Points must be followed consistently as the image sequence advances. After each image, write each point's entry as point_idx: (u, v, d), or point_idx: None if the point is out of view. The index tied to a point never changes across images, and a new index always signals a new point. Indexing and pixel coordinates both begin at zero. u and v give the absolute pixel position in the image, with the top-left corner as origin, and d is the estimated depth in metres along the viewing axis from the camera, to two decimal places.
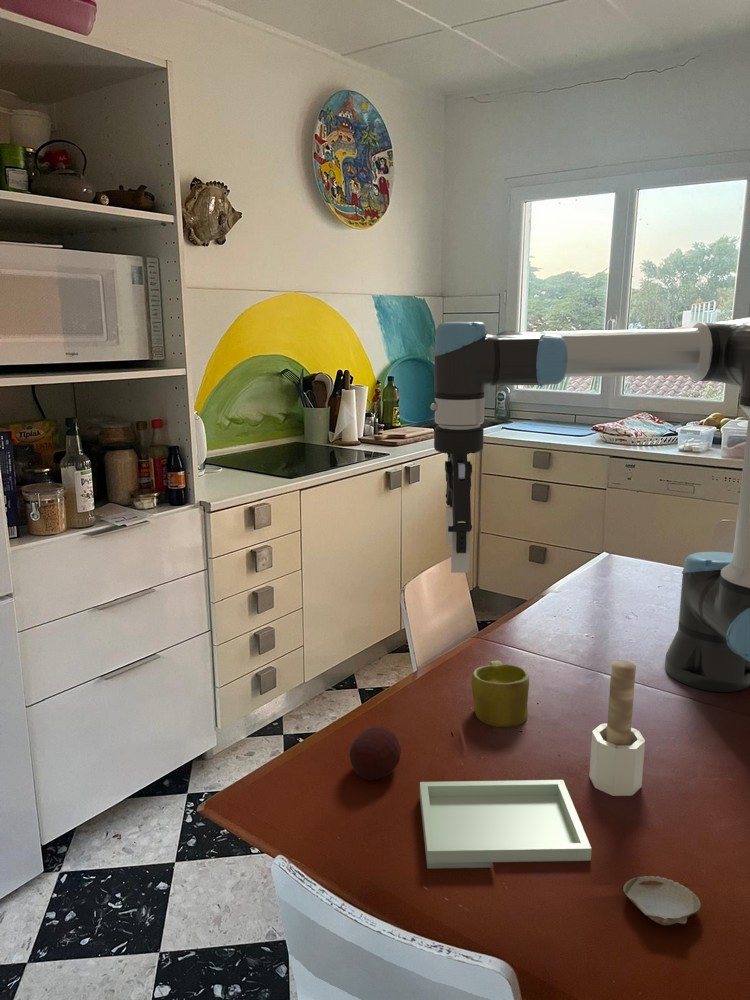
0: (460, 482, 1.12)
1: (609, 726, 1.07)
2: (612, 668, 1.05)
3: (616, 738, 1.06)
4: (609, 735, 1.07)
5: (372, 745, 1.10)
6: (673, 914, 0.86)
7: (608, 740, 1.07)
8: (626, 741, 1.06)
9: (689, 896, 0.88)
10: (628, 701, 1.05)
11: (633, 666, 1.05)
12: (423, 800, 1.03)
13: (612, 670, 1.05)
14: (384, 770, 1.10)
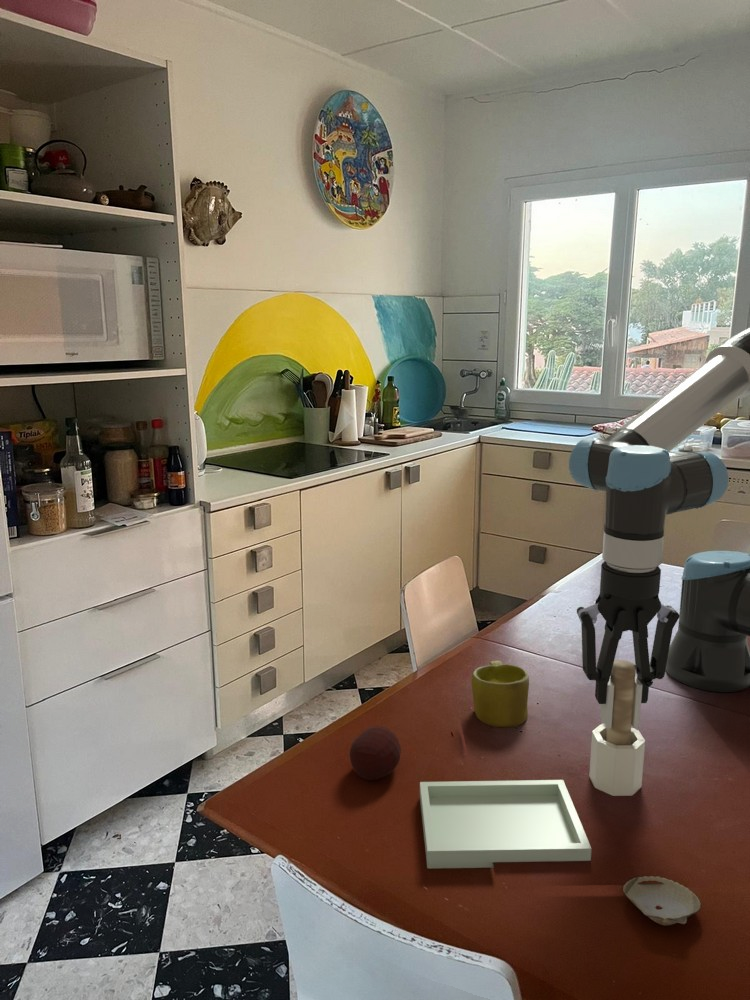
0: (583, 628, 1.04)
1: None
2: (612, 668, 1.05)
3: (616, 738, 1.06)
4: (609, 735, 1.07)
5: (372, 745, 1.10)
6: (673, 914, 0.86)
7: (608, 740, 1.07)
8: (626, 741, 1.06)
9: (689, 896, 0.88)
10: (628, 701, 1.05)
11: (633, 666, 1.05)
12: (423, 800, 1.03)
13: (612, 670, 1.05)
14: (384, 770, 1.10)
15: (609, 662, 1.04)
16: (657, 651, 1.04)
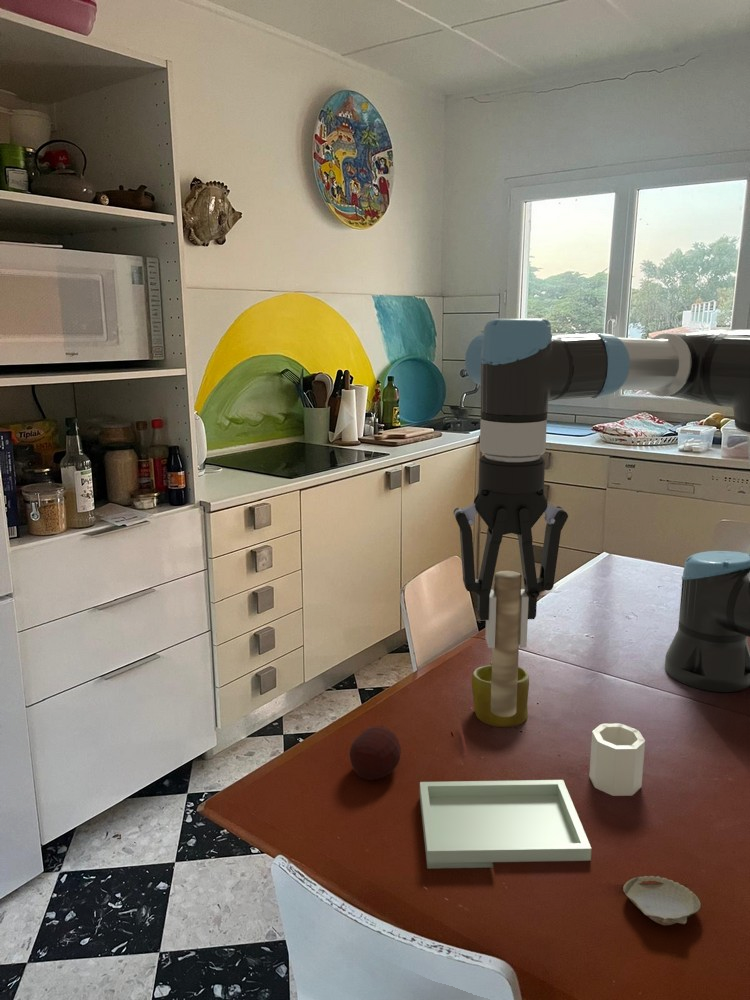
0: (460, 532, 0.91)
1: None
2: (495, 578, 0.92)
3: (501, 659, 0.93)
4: (493, 656, 0.94)
5: (372, 745, 1.10)
6: (673, 914, 0.86)
7: (493, 662, 0.94)
8: (512, 662, 0.93)
9: (689, 896, 0.88)
10: (513, 616, 0.92)
11: (518, 576, 0.92)
12: (423, 800, 1.03)
13: (495, 580, 0.92)
14: (384, 770, 1.10)
15: (490, 571, 0.91)
16: (545, 558, 0.91)
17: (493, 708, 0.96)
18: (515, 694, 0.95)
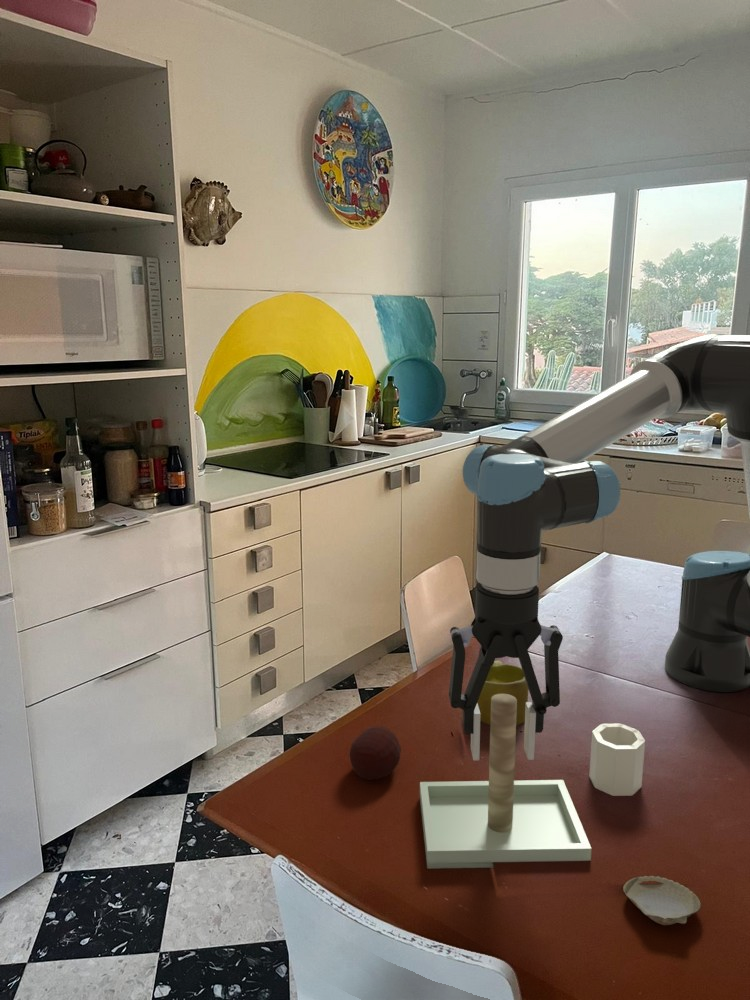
0: (454, 651, 0.95)
1: (490, 765, 0.98)
2: (491, 703, 0.96)
3: (497, 779, 0.97)
4: (490, 775, 0.98)
5: (372, 746, 1.10)
6: (673, 914, 0.86)
7: (490, 780, 0.98)
8: (508, 781, 0.97)
9: (689, 896, 0.88)
10: (508, 739, 0.96)
11: (514, 701, 0.96)
12: (423, 800, 1.03)
13: (491, 705, 0.96)
14: (384, 770, 1.10)
15: (477, 690, 0.94)
16: (547, 676, 0.95)
17: (490, 823, 1.00)
18: (511, 810, 0.99)
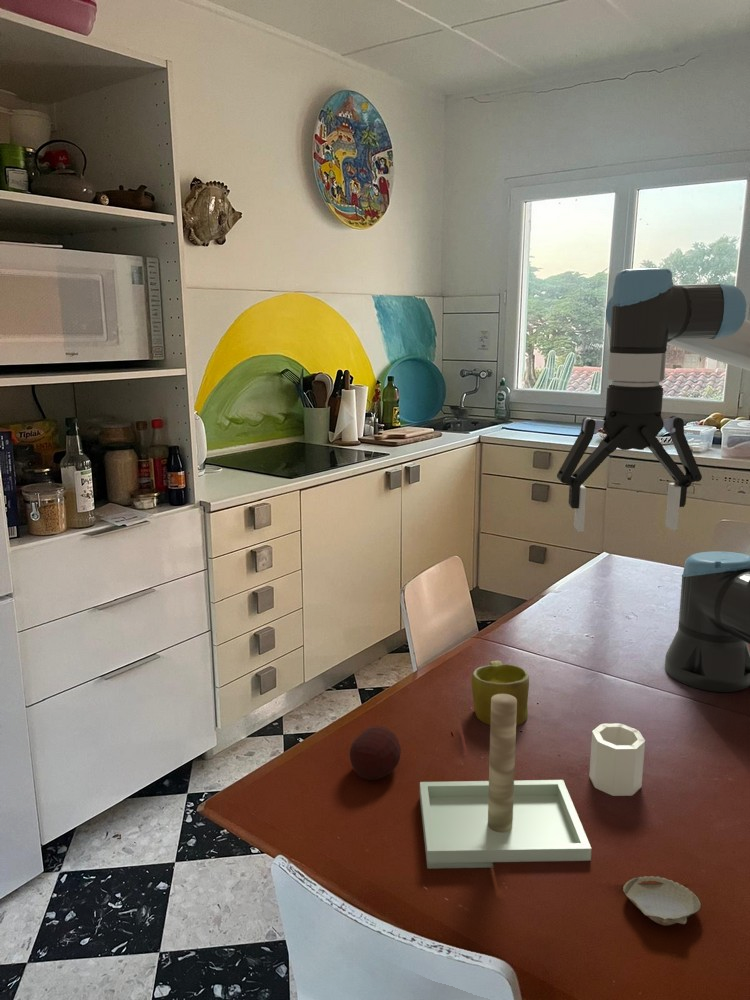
0: (581, 435, 1.09)
1: (490, 765, 0.98)
2: (491, 703, 0.96)
3: (497, 779, 0.97)
4: (490, 775, 0.98)
5: (372, 745, 1.10)
6: (673, 914, 0.86)
7: (490, 780, 0.98)
8: (508, 781, 0.97)
9: (689, 896, 0.88)
10: (508, 739, 0.96)
11: (514, 701, 0.96)
12: (423, 800, 1.03)
13: (491, 705, 0.96)
14: (384, 770, 1.10)
15: (590, 469, 1.09)
16: (683, 459, 1.10)
17: (490, 823, 1.00)
18: (511, 810, 0.99)
